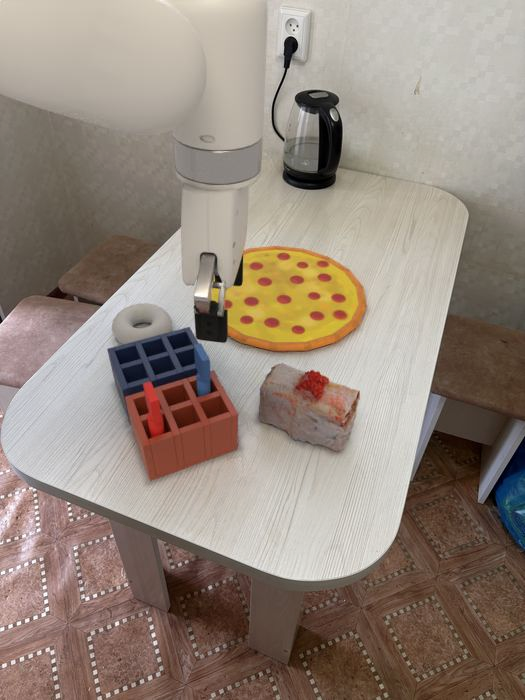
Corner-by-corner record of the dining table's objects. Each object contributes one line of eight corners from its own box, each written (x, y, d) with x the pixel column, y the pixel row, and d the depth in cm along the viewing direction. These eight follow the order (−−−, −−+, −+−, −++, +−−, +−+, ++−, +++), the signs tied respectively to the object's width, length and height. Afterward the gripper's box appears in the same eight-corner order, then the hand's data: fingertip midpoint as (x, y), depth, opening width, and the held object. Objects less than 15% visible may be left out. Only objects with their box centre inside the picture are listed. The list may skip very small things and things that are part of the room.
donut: (134, 309, 92) (101, 342, 85) (131, 293, 90) (98, 326, 83) (182, 324, 90) (153, 359, 83) (181, 308, 87) (151, 343, 80)
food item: (357, 422, 75) (369, 376, 68) (341, 463, 70) (353, 418, 63) (272, 392, 79) (276, 346, 72) (251, 429, 73) (253, 383, 67)
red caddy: (150, 481, 66) (142, 446, 61) (132, 432, 72) (124, 396, 67) (237, 449, 71) (238, 414, 65) (214, 405, 76) (213, 369, 71)
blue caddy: (130, 425, 73) (122, 389, 67) (115, 384, 78) (106, 348, 73) (211, 399, 77) (210, 363, 72) (192, 362, 83) (189, 326, 77)
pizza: (249, 234, 112) (249, 230, 111) (388, 279, 102) (389, 274, 101) (163, 313, 91) (162, 308, 90) (326, 379, 81) (327, 374, 80)
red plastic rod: (158, 469, 67) (146, 403, 58) (151, 450, 69) (139, 384, 60) (171, 464, 68) (162, 398, 58) (164, 446, 70) (154, 380, 60)
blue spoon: (203, 428, 72) (199, 362, 63) (195, 412, 74) (190, 346, 65) (215, 424, 73) (212, 358, 63) (207, 408, 75) (203, 342, 65)
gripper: (197, 116, 50) (203, 262, 62) (145, 197, 37) (166, 361, 49) (272, 123, 49) (264, 268, 61) (246, 207, 37) (242, 370, 49)
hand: (220, 309), depth 55 cm, fingers open, 9 cm apart
